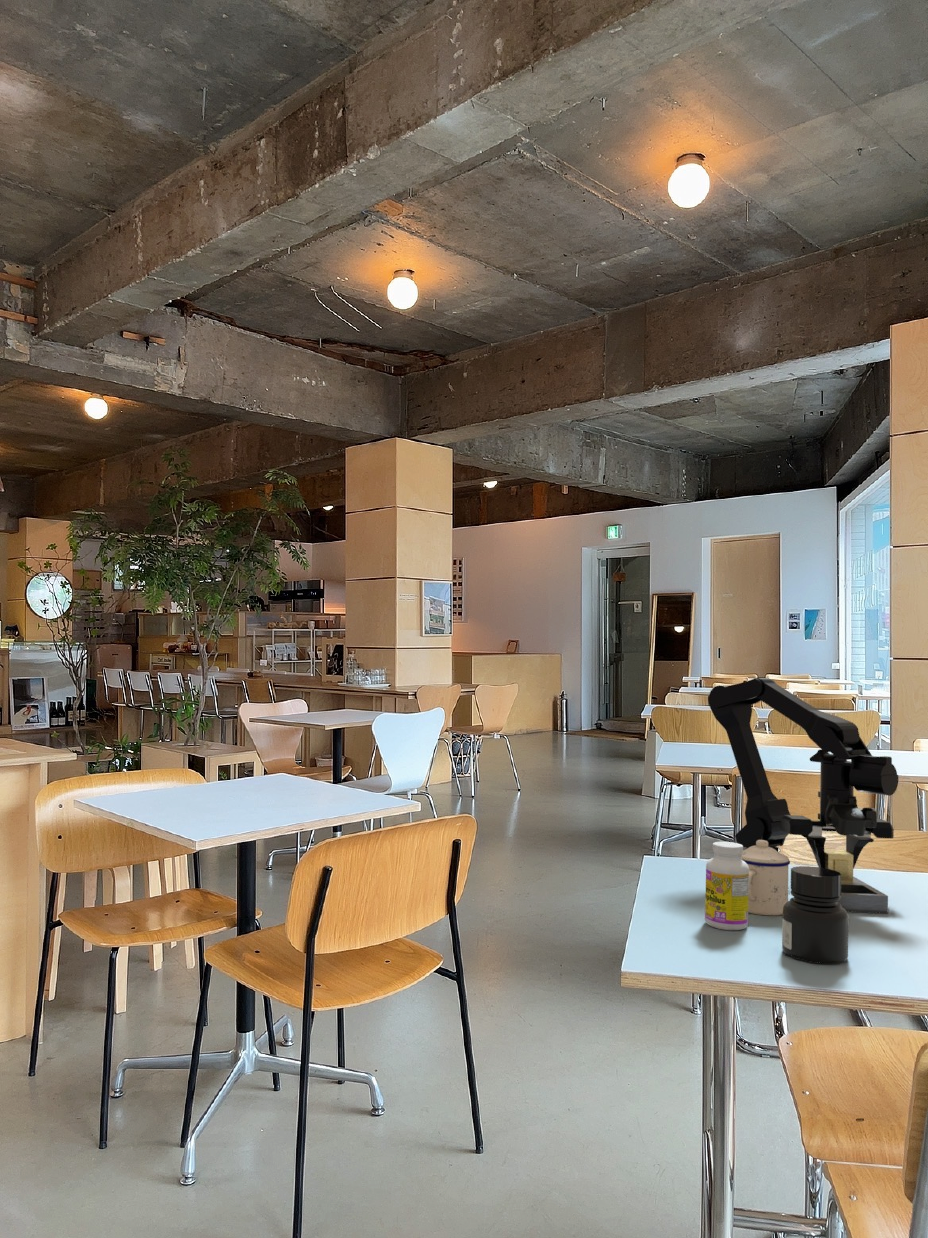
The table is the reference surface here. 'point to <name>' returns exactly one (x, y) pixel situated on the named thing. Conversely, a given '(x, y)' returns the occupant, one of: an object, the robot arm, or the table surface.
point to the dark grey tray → (862, 898)
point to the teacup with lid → (766, 879)
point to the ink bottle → (815, 917)
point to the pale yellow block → (840, 863)
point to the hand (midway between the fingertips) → (835, 873)
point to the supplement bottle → (727, 887)
